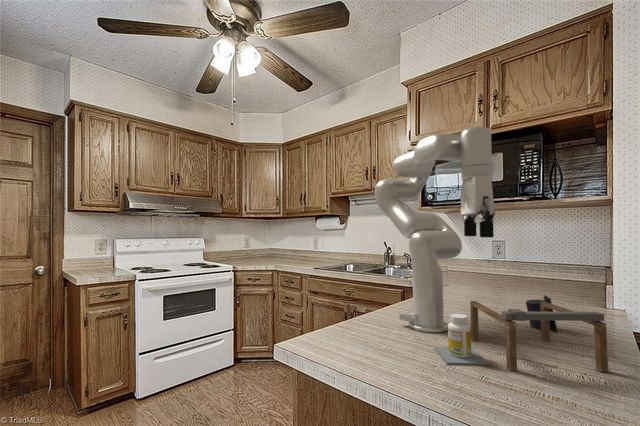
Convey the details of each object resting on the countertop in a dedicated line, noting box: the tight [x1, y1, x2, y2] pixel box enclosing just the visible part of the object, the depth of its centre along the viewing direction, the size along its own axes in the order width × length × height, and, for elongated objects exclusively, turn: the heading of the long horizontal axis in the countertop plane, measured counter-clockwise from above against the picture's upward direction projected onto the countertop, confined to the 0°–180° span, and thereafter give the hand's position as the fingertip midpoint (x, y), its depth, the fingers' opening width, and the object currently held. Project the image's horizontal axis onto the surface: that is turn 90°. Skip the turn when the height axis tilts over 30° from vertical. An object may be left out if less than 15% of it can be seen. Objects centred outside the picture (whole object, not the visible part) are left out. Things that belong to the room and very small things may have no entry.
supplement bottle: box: [447, 313, 472, 358], centre depth 82 cm, size 5×5×10 cm
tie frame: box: [469, 300, 609, 374], centre depth 83 cm, size 22×21×11 cm
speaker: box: [525, 294, 558, 333], centre depth 105 cm, size 8×6×10 cm
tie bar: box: [500, 308, 605, 322], centre depth 75 cm, size 22×3×2 cm, turn 87°
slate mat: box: [433, 346, 491, 366], centre depth 82 cm, size 10×10×1 cm
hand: (478, 236), depth 87 cm, fingers open, 9 cm apart
